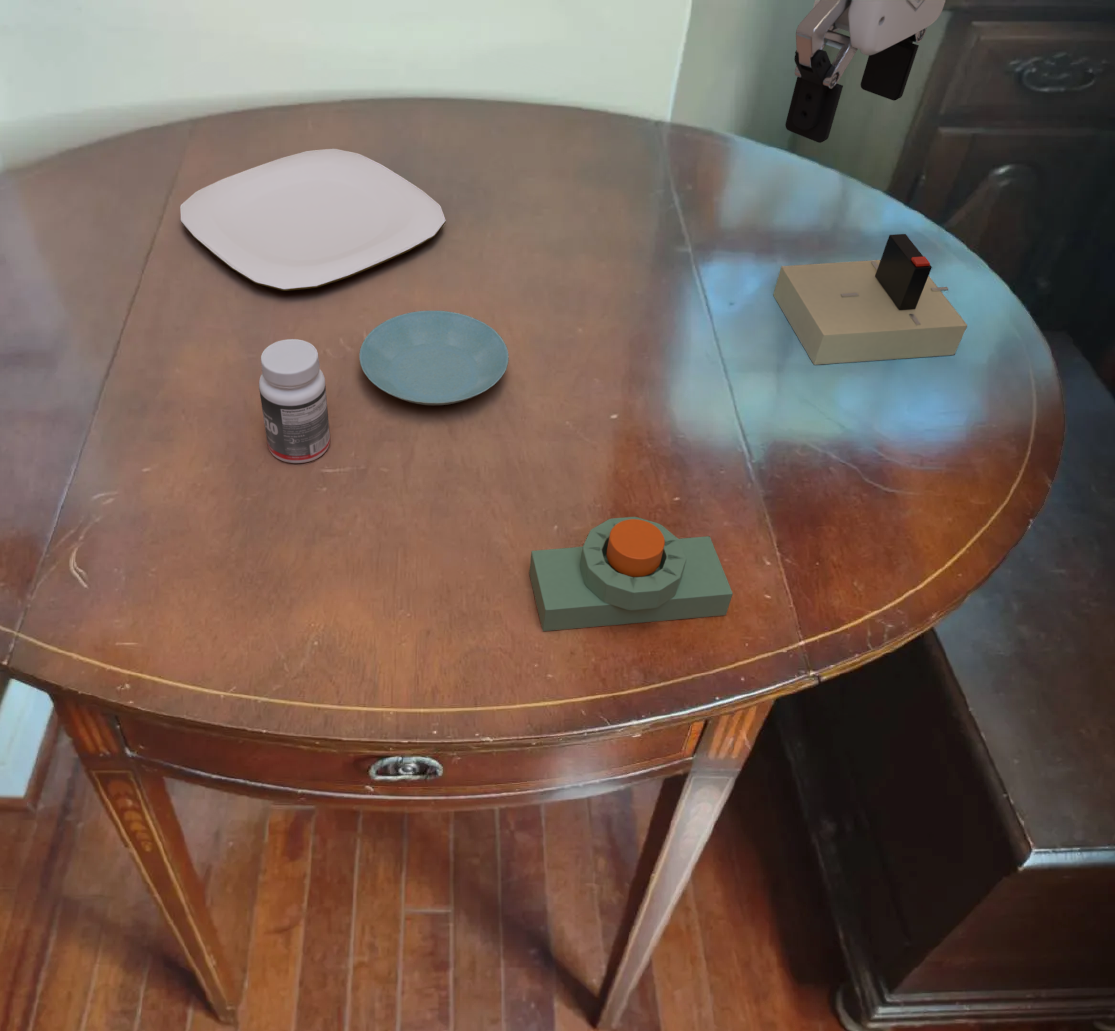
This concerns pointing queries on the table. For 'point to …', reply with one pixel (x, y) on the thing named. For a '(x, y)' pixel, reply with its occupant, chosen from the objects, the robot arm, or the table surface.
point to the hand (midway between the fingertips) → (843, 114)
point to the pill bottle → (294, 401)
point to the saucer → (434, 357)
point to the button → (635, 547)
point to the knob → (903, 271)
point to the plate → (311, 218)
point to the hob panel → (863, 315)
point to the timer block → (627, 583)
